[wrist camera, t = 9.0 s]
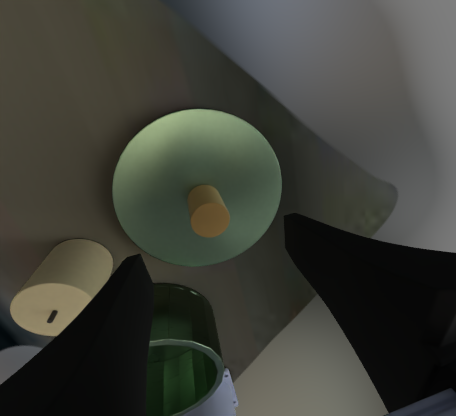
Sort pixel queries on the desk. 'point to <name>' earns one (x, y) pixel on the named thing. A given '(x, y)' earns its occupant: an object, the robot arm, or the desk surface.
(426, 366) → the robot arm
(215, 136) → the tin lid
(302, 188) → the desk surface
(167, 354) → the tin
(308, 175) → the desk surface
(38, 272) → the candle
